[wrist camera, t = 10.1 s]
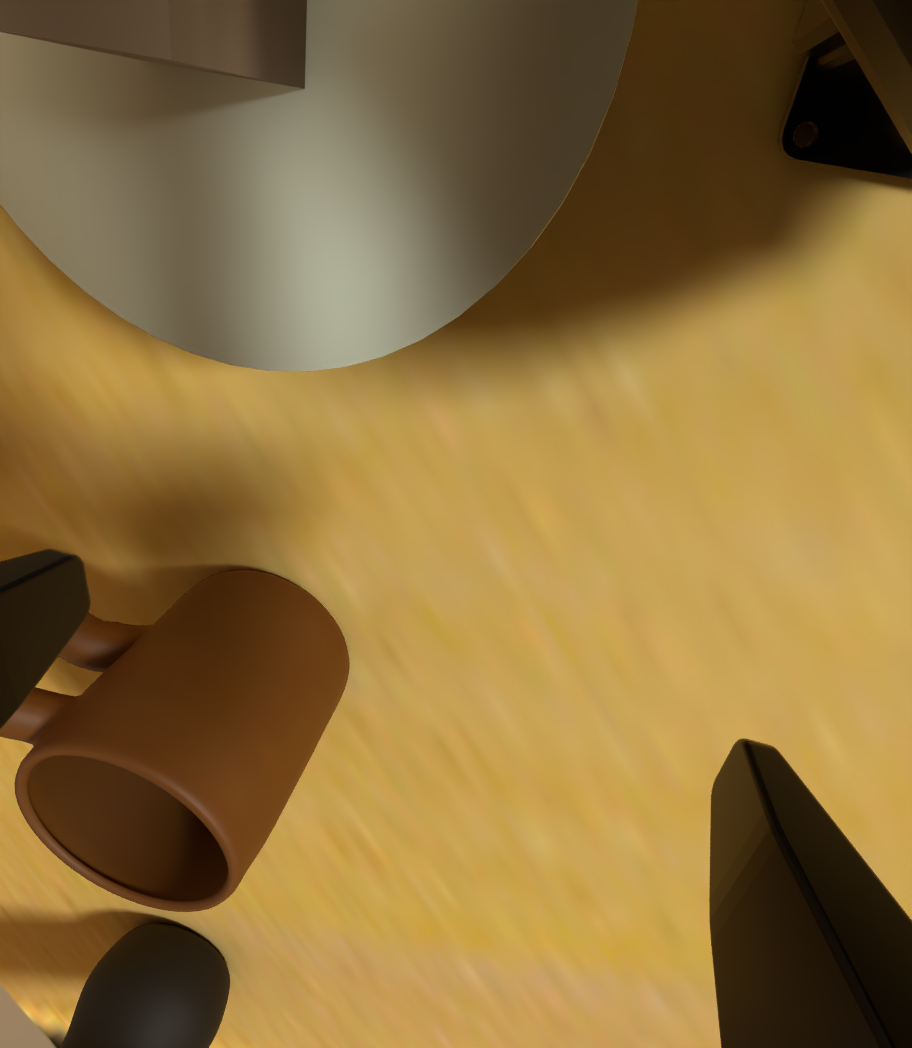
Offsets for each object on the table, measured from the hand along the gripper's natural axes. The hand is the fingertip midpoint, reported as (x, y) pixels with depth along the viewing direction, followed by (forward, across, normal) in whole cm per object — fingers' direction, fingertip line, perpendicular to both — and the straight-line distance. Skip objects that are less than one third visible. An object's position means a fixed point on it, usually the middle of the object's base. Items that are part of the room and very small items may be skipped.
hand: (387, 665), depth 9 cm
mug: (+13, +10, +12) cm, 20 cm away
